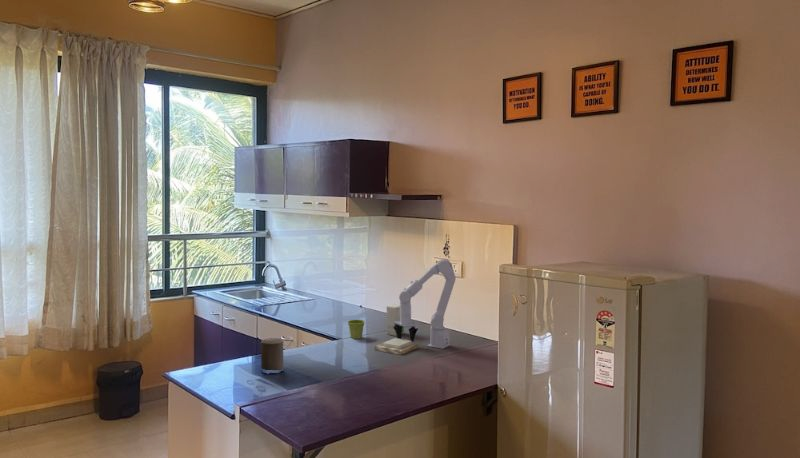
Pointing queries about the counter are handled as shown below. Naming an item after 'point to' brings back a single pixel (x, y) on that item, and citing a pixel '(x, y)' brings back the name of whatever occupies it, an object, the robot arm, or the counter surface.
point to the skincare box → (393, 318)
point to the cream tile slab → (397, 343)
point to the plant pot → (356, 328)
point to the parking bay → (396, 351)
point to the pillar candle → (272, 354)
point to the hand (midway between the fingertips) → (405, 340)
